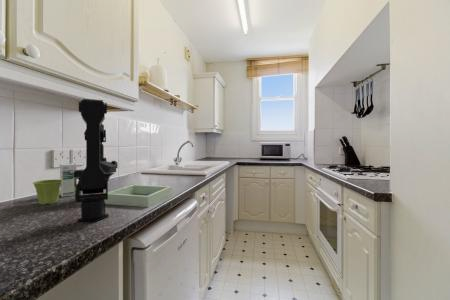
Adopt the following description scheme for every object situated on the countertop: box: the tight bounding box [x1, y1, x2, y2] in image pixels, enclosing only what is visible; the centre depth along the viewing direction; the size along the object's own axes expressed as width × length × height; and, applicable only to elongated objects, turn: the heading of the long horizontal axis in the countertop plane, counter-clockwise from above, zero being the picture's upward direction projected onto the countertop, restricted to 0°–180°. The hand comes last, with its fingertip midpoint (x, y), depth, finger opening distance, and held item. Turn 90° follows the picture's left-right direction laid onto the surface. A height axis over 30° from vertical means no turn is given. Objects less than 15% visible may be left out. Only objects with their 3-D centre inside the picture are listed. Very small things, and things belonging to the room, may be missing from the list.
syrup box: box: [59, 162, 78, 198], centre depth 106 cm, size 6×6×14 cm
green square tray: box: [105, 184, 173, 208], centre depth 99 cm, size 20×20×4 cm
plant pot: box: [32, 179, 62, 206], centre depth 92 cm, size 9×9×9 cm
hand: (96, 190), depth 101 cm, fingers open, 9 cm apart
